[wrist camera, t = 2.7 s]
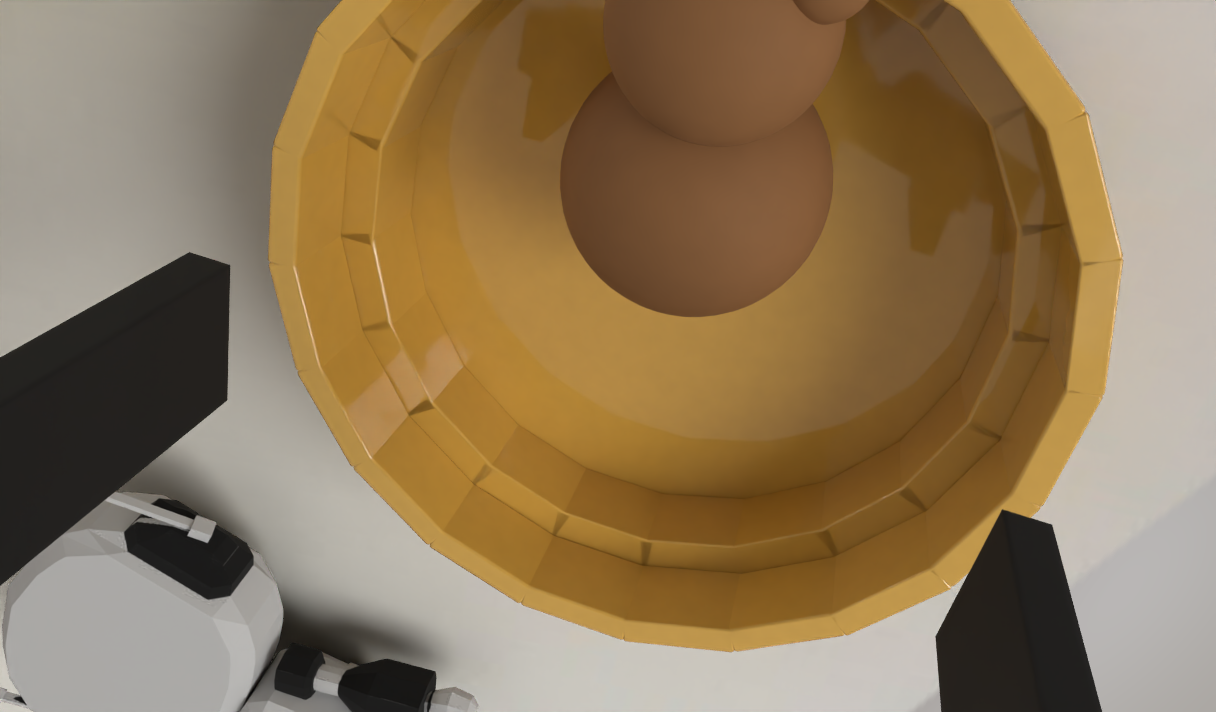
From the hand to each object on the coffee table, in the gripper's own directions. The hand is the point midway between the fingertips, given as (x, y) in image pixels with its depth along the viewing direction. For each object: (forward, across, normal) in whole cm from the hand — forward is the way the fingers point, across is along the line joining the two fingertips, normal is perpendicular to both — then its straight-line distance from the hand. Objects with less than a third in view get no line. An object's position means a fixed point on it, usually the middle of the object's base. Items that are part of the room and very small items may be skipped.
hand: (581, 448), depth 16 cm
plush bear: (+8, 0, +1) cm, 8 cm away
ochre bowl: (+10, 0, 0) cm, 10 cm away
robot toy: (+10, -11, -19) cm, 24 cm away
